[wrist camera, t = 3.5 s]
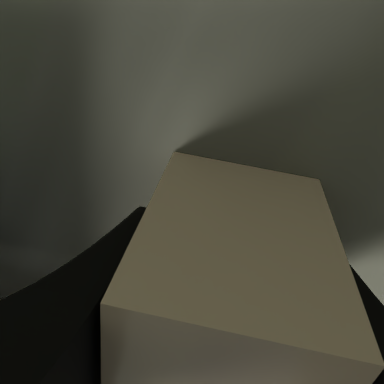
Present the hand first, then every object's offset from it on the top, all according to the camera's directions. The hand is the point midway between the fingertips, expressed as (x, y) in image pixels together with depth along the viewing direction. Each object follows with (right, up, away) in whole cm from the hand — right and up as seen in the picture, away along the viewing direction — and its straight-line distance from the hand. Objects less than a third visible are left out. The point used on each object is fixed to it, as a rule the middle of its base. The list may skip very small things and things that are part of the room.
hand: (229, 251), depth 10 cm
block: (0, +1, +1) cm, 1 cm away
